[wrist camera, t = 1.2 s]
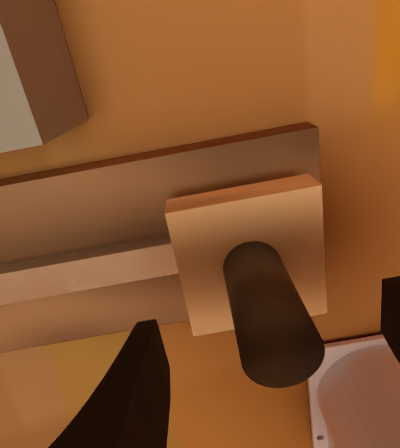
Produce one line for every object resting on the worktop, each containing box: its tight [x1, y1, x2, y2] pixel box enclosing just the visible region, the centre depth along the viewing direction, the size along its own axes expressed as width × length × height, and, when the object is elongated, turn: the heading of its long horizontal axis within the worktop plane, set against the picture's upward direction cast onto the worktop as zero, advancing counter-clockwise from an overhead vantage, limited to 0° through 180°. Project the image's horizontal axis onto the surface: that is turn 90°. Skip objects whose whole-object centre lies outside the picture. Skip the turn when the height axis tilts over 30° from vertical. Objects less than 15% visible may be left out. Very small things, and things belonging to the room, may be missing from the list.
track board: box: [0, 122, 321, 353], centre depth 19 cm, size 9×22×2 cm, turn 100°
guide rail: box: [0, 233, 178, 305], centre depth 17 cm, size 2×21×1 cm, turn 100°
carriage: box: [165, 174, 327, 388], centre depth 14 cm, size 6×6×8 cm
